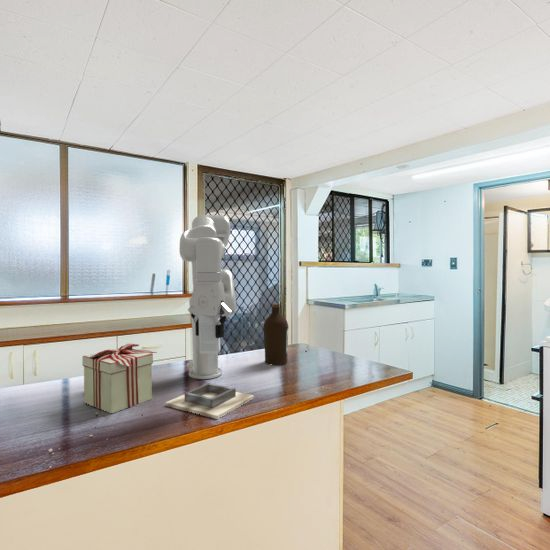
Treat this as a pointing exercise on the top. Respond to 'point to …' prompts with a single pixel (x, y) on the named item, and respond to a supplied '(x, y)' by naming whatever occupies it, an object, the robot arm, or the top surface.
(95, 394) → the gift box
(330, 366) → the top surface
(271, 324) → the olive oil
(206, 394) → the holder board
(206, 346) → the skincare box
